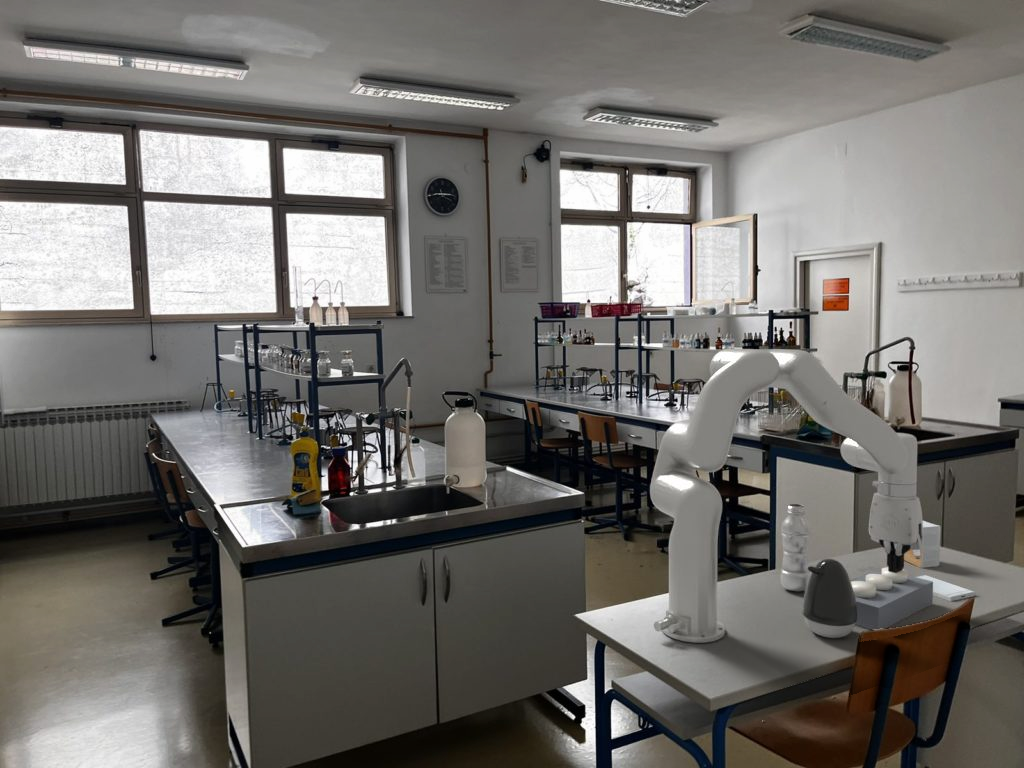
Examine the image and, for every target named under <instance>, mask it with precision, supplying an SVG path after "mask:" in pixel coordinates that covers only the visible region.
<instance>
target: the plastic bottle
mask: <svg viewBox="0 0 1024 768" xmlns="http://www.w3.org/2000/svg"><path fill="white" fill-rule="evenodd" d="M786 512H787V514H788V515H787V516H786V517H785V518H784V520H782V522H781V525H780V532H781V533H780V534H781V539H782V550H783V551H782V553H783V554H782V555H783V556H782V557H783V558H782V567H781V570H780V571H781V572H780V575H779V576H780V583H781V585H782V587H783V588H784V589H785V590H788V591H792V592H805V590H806V587H807V584H808V581H809V578H810V576H811V571H809V570H808V566H810V565H809V547H810V546H809V545H810V539H811V538H810V537H811V533H812V528H811V525H810V523H809V521H808V519H806V517H805V515H806V506H805V504H801V503H789V504H788V505H787V510H786Z"/></svg>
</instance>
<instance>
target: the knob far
mask: <svg viewBox="0 0 1024 768" xmlns="http://www.w3.org/2000/svg"><path fill="white" fill-rule="evenodd" d="M881 569H882V575H886V576H889V577H891V578H892V582H893V583H897V584H902V583H905V582H907V581H908V576H909V572H908V570H906V569H904V568H903V569H902V571H900V572H897V573H894V572H893V571H892V572H889V571H888V566H887V567H882V568H881Z"/></svg>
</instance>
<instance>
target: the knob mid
mask: <svg viewBox="0 0 1024 768" xmlns="http://www.w3.org/2000/svg"><path fill="white" fill-rule="evenodd" d="M866 582H869V583H872V584H874V585H875V586H876V590H880V591H883V592H884V591H886V590H890V589H892V578H891V577H889V576H886V575H881V574H868V575H866Z"/></svg>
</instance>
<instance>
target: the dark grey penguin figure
mask: <svg viewBox="0 0 1024 768" xmlns="http://www.w3.org/2000/svg"><path fill="white" fill-rule="evenodd" d="M808 570H809V572H810V578H809V581H808V584H807V587H806V590H805V591H804V596H803V599H802V600H803V601H802V609H801V610H802V611H801V612H802V615H803V617H804V620H805V621H804V622H805V624H806V625H807V627H808V628H809V629H810V630H811V631H812V632H813V633H815V634H816V635H818V636H821V637H823V638H828V639H840V638H843V637H846V636H848V635H849V634H850V633H851V632H852V631H853V629H854V628H855V626H856V625H855V622H856V621H857V606H856V599H855V594H854V591H853V587H852V584H851V581H850V580H851V579H850V576H849V574H848V571H847V570H846V568H845V567H844V565H843V563H841V562H840V561H838V560H837V559H834V558H824V559H821V560H820V561H818V562H817V564H816V565H815V566H814V565H809V566H808Z"/></svg>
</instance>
